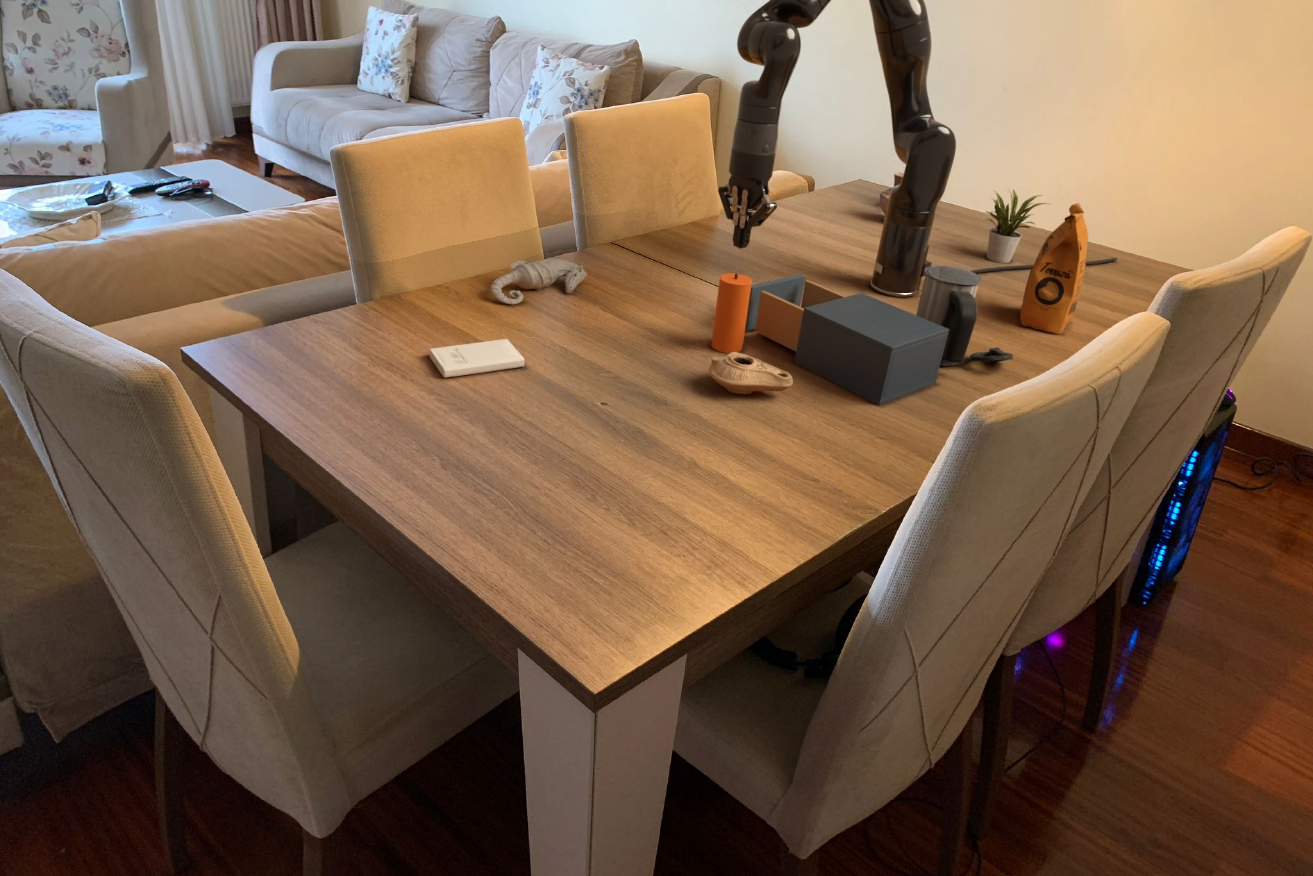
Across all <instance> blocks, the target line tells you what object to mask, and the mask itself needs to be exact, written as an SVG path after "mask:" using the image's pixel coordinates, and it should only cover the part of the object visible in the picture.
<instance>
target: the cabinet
mask: <svg viewBox="0 0 1313 876" xmlns="http://www.w3.org/2000/svg"><path fill="white" fill-rule="evenodd" d="M803 312H804V313H803V317H802V322H801V328H800V334H799V339H798V345H797V351H795V358H794V363H795V364H797V365H798V366H800V367H802V368H805V369H807V370H809V371H811V372H813V373H814V374H816V375H818V376H819V377H823V378H824V379H826V380H828V381H831V382H832V383H834V384H836V385H837V386H840V387H842V388H844V389H846V390H848V391H850V392H852V393H854V394H856V395H858V396H860V397H862V398H864V399H865V400H867V401H869V402H872V403H873V404H875V405H878V406H882V405H883V404H886V403H889V402H892V401H894V400H896V399H899V398H902V397H904V396H908V395H909V394H913V393H915V392H917V391H920V390H924V389H925V388H928V387H931V386H934V385H935V384H936V382H937V379H938V375H939V370H940V363H941V359H942V355H943V352H944V348H945V344H946V340H947V336H948V332H949V329H948V328H945V327H943V326H940V325H938V324H936V323H933V322H931V321H928V320H926V319H924V318H921V317H919V316H916V315H917V314H914V313H911V312H909V311H907V310H904V309H902V308H899V307H897V306H895V305H893V304H890V303H887V302H885V301H882V300H880V299H879V298H876V297H873V296H870V295H868V294H867V293H863V292H859V293H855V294H851V295H849V296H848V295H847V297H844V298H840V299H836V300H832V301H829V302H825V303H821V304H817V305H813V306H810V307H806V308H804V311H803Z"/></svg>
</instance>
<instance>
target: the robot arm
mask: <svg viewBox="0 0 1313 876" xmlns="http://www.w3.org/2000/svg"><path fill="white" fill-rule="evenodd" d="M831 1H832V0H768V1H767V2H766V3H764V4H763V5H762V6H760V7H759V8H757V9H756V10H754V12H753V13H751V15H749V16H748V17H747V19H746V20H745V21H744V23H743V24H742V25H741V28H740V29H739V32H738V35H737V39H736V48H737V52H738V55H739V56H740V57H741V59H742V60H744V61H745V62H747V63H749V64H754V65H757V66H761V67H763V70H762V72H761V75H760V77H759V79H758V80H757V79H756V80H755V79H754V80H749V81H747V82H745V83H743V84H742V86H741V88H740V89H741V90H740V95H739V102H738V107H737V108H738V110H737V117H736V122H735V125H734V129H733V135H732V143H731V150H730V151H731V152H730V159H729V166H728V173H729V174H730V176H729V179H728V183H726V185H723V186H719V187H718V188H717V193H718V197H719V198H720V202H721V204H722V207H723V208H722V209H723V211H724V213H725V216H726V219H728V220H731V221H732V225H733V226H734V227H733V234H732V245H733V247H734V248H738V249H741V250H742V249H745V248H747V247H748V246H749V244H750V240H751V234H752V229H753V228H757V227H760V226H762V225H763V224H764V223H765V221H766V220H767V219H769V217H770V216H771V215H772V214H773V213H774V212H775V211H776V210H777V208H778V204H777V202H775V201H771V198H770V197H769V194H770V189H769V182H770V180H771V179H772V177H773V174H774V167H775V159H776V153H777V148H778V147H777V146H778V141H779V126H780V123H779V122H780V117H781V111H782V104H783V98H784V96H785V93H786V90H787V88H788V86H789V83H790V81H791V78H792V77H793V74H794V71H795V69H796V66H797V64H798V62H799V59H800V56H801V52H802V50H801V49H802V40H801V39H802V38H801V34H800V31H799V29H804V28H808V27H809V26H812V25H813V23H814V22H815V21H816V20H817V19H818V18H819V17H820V15H821V14H822V13H823V12H824V10H825V9H826V8H827V7H828V6H829V4H830V3H831ZM868 2H869V7H870V12H871V17H872V24H873V31H874V36H875V41H876V46H877V51H878V53H879V54H878V55H879V58H880V63H881V68H882V72H883V78H884V82H885V87H886V91H887V94H888V100H889V104H890V105H889V108H890V116H891V117H890V118H891V127H892V129H891V130H892V140H893V147H894V151H895V153H896V156H897V157H898V160H900V161H901V162H902V163H903V164H904V165H905V168H904V170H903V171H904V172H903V173H904V175H903V178H902V181H901V183H900V185H897V186H895V187H894V186H893V188H892V187H891V188H892V189H891V192H890V196H889V201H888V205H887V210H886V215H885V214H884V218H885V220H884V219H883V225H882V230H881V235H880V238H879V244H878V249H877V253H876V259H875V263H874V268H873V272H872V278H871V280H870V284H869V285H870V287H871V289H872V290H874V291H876V292H877V293H880V294H883V295H885V296H889V297H897V298H898V297H899V298H909V297H914V296H915V295H917V294H918V291H919V290H920V286H921V282H922V278H925V275H926V273H925V269H926V268H927V267H930V266H932V264H933V263H932V261H929V260H927V258H928V253H929V249H930V245H929V241H930V237H931V234H932V233H931V232H932V228H933V225H934V219H935V215H936V211H937V208H938V205H939V202H940V201H941V199H942V198H943V195H944V194H945V192H946V188H947V186H948V182H949V178H950V175H951V172H952V169H953V164H954V160H955V156H956V150H957V139H956V135H955V133H954V131H953V130H952V129H951V128H950V127H949V126H947V125H946V124H944V123H942V122H939V121H937V120H936V119H935V117H934V113H933V111H932V107H931V102H930V99H929V98H930V97H929V94H928V93H929V92H928V72H929V67H930V62H931V56H932V48H933V47H932V46H933V42H932V32H931V27H930V20H929V15H928V10H927V6H926V3H925V0H868ZM941 197H942V198H941ZM940 198H941V199H940ZM939 200H940V201H939ZM938 201H939V202H938ZM1116 261H1118V258H1117V257H1112V258H1106V259H1105V258H1104V259H1099V260H1089V261H1086V265H1085V266H1090V265H1099V264H1106V263H1111V262H1116ZM1033 265H1034V264H1023V265H1006V266H997V267H996V266H995V267H987V268H986V267H985V268H979V269H974V270H970V271H971V272H973V273H975V274H981V273H988V272H999V271H1011V270H1025V269H1032V267H1033Z"/></svg>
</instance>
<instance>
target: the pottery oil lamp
mask: <svg viewBox="0 0 1313 876" xmlns="http://www.w3.org/2000/svg"><path fill="white" fill-rule="evenodd" d="M710 361H711V364H710V365H709V367H708V373H709V375H710V376H711V378H712V379H713V380H714V381H715V382H717V383H718V384H719V385H720V386H721V387H724V388H725V389H726V391H728V392H730V393H733V394H737V395H748V394H749V395H750V394H753V392H783V391H786V390H787V389H789V388H790V387H792V386H793V384H794V380H793V376H792V375H791V374H790V373H789V372H788V371H785V370H783V369H781V368H778V367H776V366H773V365H772V364H769V363H766V362H764V361H762V360H760V359H758V358H756V357H752V356H750V355H748V354H744V353H741V352H731V353H726V354H724V355H718V356H712V357H711V360H710Z"/></svg>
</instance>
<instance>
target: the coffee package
mask: <svg viewBox="0 0 1313 876" xmlns="http://www.w3.org/2000/svg"><path fill="white" fill-rule="evenodd" d="M1068 212H1069V215H1068V216H1065V217H1064V219H1063V220H1064V221H1063V222H1062V223H1061V224H1059V226H1058V227H1056V228H1055V229H1054V230H1053V231H1052V232H1051V233H1050V234H1049V235H1048V236H1046V239H1045V241H1044V242H1043V244H1042V245H1041V248H1040V250H1039V251H1038V254H1037V256H1036V259H1035V260H1034V263H1033V264H1032V265H1033V267H1032V268H1030V271H1029V274H1028V278H1027V281H1026V285H1025V289H1024V294H1023V298H1022V304H1021V309H1020V316H1019V318H1020V323H1021V325H1022V326H1024V327H1030V328H1032V329H1034V330H1038V331H1044V332H1047V333H1050V334H1051V333H1052V334H1056V335H1060V334H1062V333H1063V332H1064V330H1065V329H1066V328H1067V326H1069V324H1070V323H1071V322H1072V320H1073V317H1074V314H1075V312H1076V308H1077V304H1078V301H1079V298H1080V294H1081V290H1082V285H1083V282H1084V275H1085V270H1086V266H1087V265H1086V262H1087V252H1088V243H1089V232H1088V227H1087V225H1086V222H1085V218H1084V214H1085V212H1084V209H1083V207H1082V206H1081V204H1080V203H1073V204H1071V205H1070V207H1069V208H1068Z"/></svg>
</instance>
